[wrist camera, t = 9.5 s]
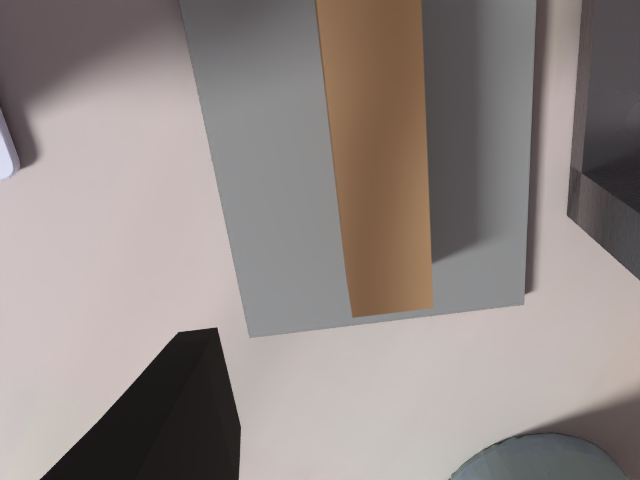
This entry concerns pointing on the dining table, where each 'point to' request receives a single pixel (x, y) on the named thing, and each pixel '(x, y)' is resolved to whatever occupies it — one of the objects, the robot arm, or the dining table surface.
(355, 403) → the dining table surface
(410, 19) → the walnut bar
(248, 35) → the grey mat
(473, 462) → the teal tumbler
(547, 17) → the dining table surface
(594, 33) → the dark grey cradle
